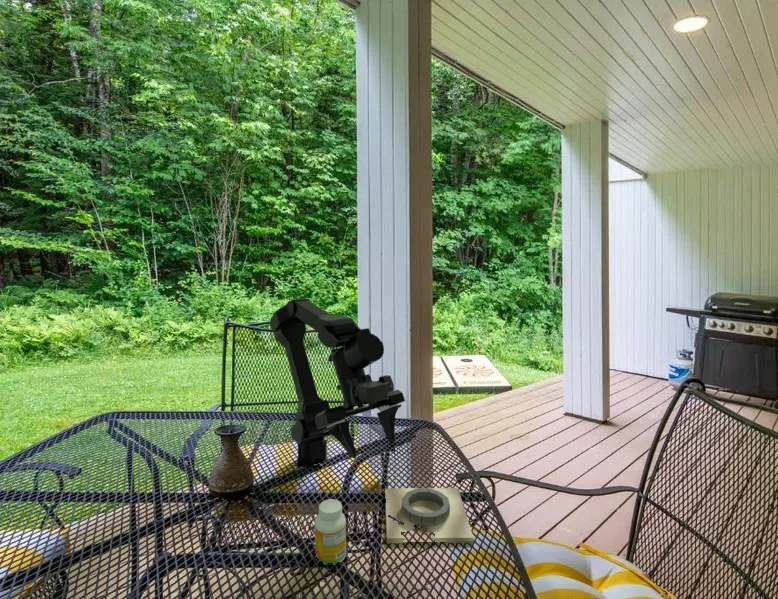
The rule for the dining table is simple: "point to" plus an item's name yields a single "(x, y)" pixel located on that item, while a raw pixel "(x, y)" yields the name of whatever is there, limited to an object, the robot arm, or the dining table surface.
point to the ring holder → (427, 513)
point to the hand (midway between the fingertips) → (374, 450)
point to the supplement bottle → (330, 532)
